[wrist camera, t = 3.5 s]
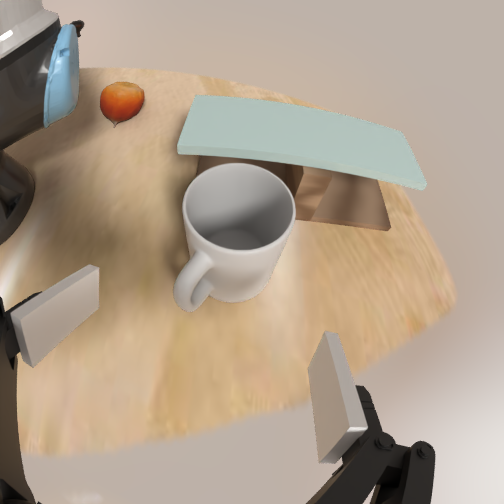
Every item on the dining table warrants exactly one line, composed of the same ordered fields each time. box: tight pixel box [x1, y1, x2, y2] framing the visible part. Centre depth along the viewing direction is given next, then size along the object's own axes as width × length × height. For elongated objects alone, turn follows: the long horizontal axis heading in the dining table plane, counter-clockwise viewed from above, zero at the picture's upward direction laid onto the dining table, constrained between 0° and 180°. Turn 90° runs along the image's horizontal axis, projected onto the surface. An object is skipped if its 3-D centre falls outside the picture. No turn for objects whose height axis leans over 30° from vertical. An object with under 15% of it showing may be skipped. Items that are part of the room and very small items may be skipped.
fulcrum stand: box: [196, 155, 391, 231], centre depth 32 cm, size 26×12×8 cm, turn 88°
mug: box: [173, 163, 296, 312], centre depth 24 cm, size 12×8×11 cm
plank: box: [177, 95, 427, 191], centre depth 28 cm, size 28×10×1 cm, turn 88°
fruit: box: [100, 82, 144, 128], centre depth 37 cm, size 8×8×8 cm
